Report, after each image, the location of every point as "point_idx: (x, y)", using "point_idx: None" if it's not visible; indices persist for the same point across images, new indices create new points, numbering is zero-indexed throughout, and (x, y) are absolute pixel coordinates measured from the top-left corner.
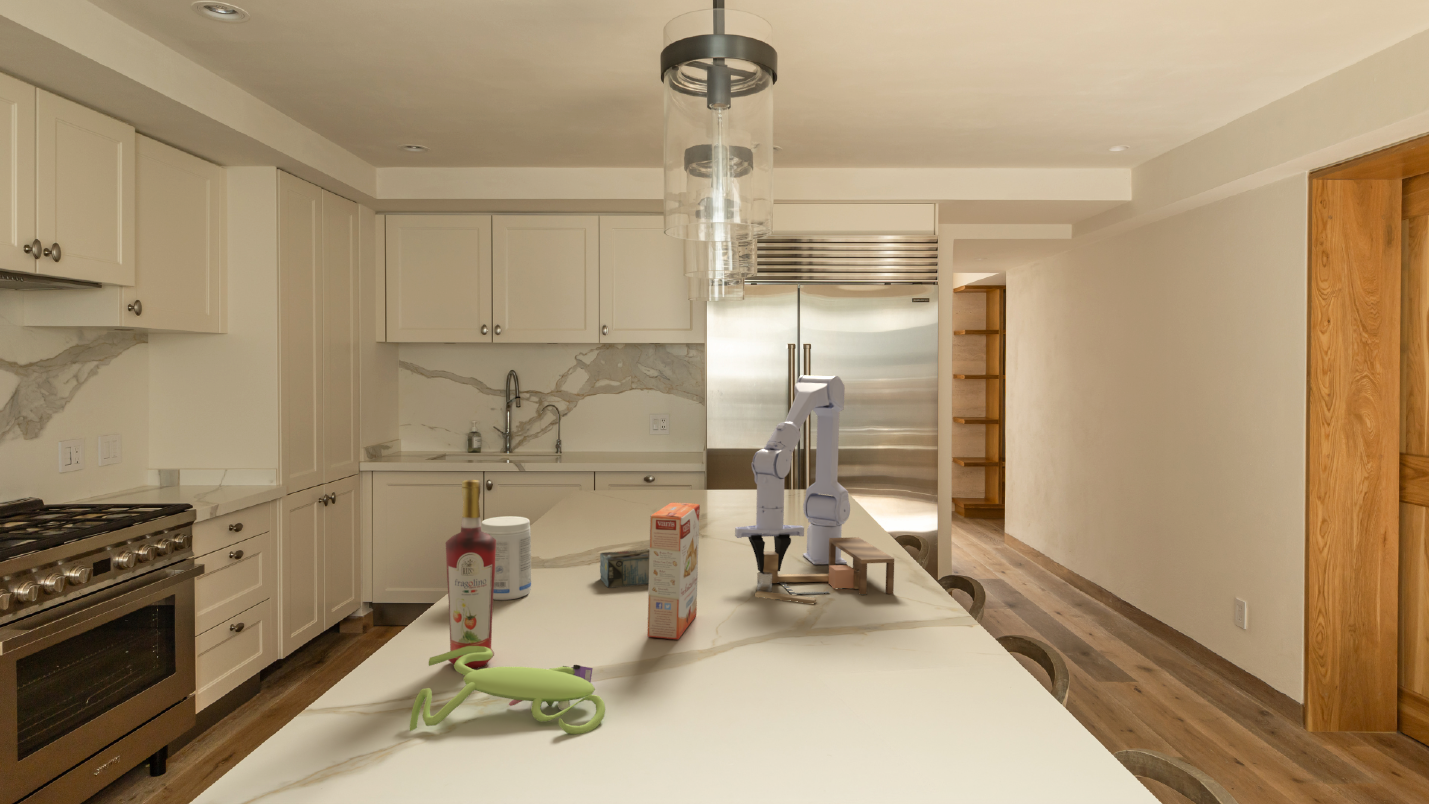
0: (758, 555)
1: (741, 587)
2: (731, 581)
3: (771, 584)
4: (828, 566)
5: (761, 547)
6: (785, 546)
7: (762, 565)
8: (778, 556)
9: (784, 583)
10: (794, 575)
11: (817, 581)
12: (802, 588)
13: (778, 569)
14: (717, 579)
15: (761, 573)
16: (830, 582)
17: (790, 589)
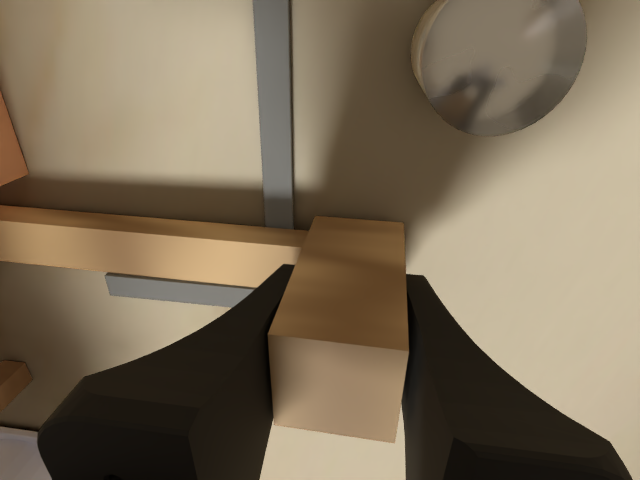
0: (476, 349)
1: (556, 208)
2: (550, 326)
3: (433, 9)
4: (21, 390)
5: (474, 400)
6: (166, 364)
7: (417, 293)
8: (269, 329)
9: (271, 215)
10: (193, 255)
11: (82, 212)
12: (182, 117)
13: (290, 267)
14: (607, 371)
15: (535, 65)
16: (2, 147)
17: (264, 80)
